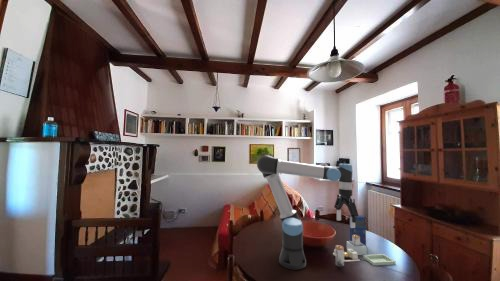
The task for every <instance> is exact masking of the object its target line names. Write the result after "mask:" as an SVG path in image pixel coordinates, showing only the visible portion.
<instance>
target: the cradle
mask: <svg viewBox="0 0 500 281" xmlns="http://www.w3.org/2000/svg"><path fill="white" fill-rule="evenodd" d="M346 252H348V253H349V257H348V258H351V259H344V263H347V262H348V263H350V262H360V261H361V260H360V259H359V255H358V253H357V252H355V251H354V250H353V249H347V248H346ZM332 255H333V256H334V257H335V249H333V253H332Z"/></svg>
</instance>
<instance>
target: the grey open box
mask: <svg viewBox="0 0 500 281" xmlns="http://www.w3.org/2000/svg"><path fill="white" fill-rule="evenodd" d="M347 249H353V250H354V251H355V252H357V253H358V256H363V255H368V252H367V251H368V250H367V245H366V246H365V245H364V244H362V243H361V242H360V246H353V245H352V241H350V240H349V241H348V240H346V250H347Z"/></svg>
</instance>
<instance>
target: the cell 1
mask: <svg viewBox="0 0 500 281" xmlns="http://www.w3.org/2000/svg"><path fill="white" fill-rule="evenodd" d="M334 250H335V256H334V257H335V266H336V267H338V268H342V267H344V266H345V262H344V260H345V257H344V252H345V247H344V246H343V245H341V244H340V245H339V244H336V245H335V248H334Z"/></svg>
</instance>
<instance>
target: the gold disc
mask: <svg viewBox="0 0 500 281" xmlns="http://www.w3.org/2000/svg"><path fill="white" fill-rule="evenodd" d="M344 258H350V257H349V253H348V252H347V251H344Z"/></svg>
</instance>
